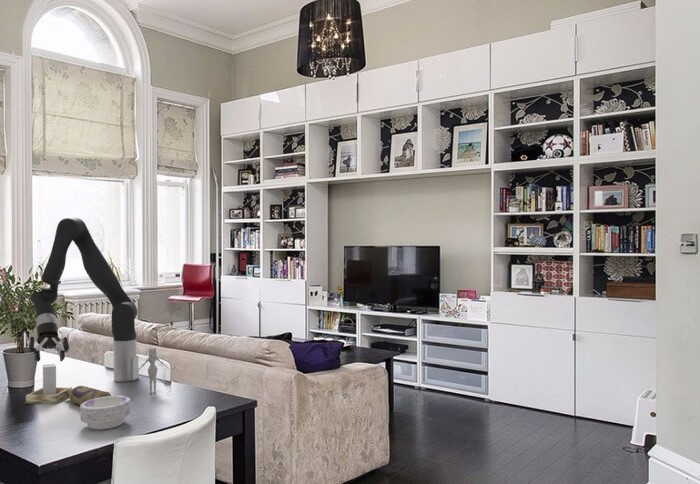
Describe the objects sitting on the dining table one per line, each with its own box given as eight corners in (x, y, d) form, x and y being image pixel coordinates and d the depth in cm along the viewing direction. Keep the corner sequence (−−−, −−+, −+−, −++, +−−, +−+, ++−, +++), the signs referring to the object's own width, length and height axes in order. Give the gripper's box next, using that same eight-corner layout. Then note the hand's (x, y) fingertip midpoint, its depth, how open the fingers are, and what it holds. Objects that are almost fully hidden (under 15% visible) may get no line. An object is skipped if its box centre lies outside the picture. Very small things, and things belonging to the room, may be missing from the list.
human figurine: (167, 390, 234) (167, 345, 233) (169, 392, 230) (169, 347, 230) (136, 394, 228) (135, 348, 228) (137, 397, 225) (136, 350, 225)
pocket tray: (71, 394, 228) (71, 387, 228) (56, 403, 217) (56, 395, 217) (42, 395, 229) (42, 387, 229) (25, 403, 217) (25, 395, 217)
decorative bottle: (113, 408, 211) (113, 389, 211) (93, 413, 205) (93, 394, 205) (77, 396, 227) (77, 379, 226) (57, 401, 221) (57, 383, 220)
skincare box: (56, 398, 221) (56, 366, 221) (43, 399, 219) (43, 367, 219) (55, 394, 227) (54, 363, 226) (42, 396, 224) (42, 364, 224)
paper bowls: (80, 422, 195) (80, 398, 195) (129, 416, 201) (129, 392, 201) (79, 436, 181) (79, 410, 181) (132, 429, 187) (132, 404, 187)
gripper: (30, 320, 235) (33, 355, 226) (68, 321, 245) (72, 354, 235) (25, 332, 239) (28, 366, 230) (62, 332, 248) (66, 365, 239)
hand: (50, 360), depth 233 cm, fingers open, 8 cm apart
